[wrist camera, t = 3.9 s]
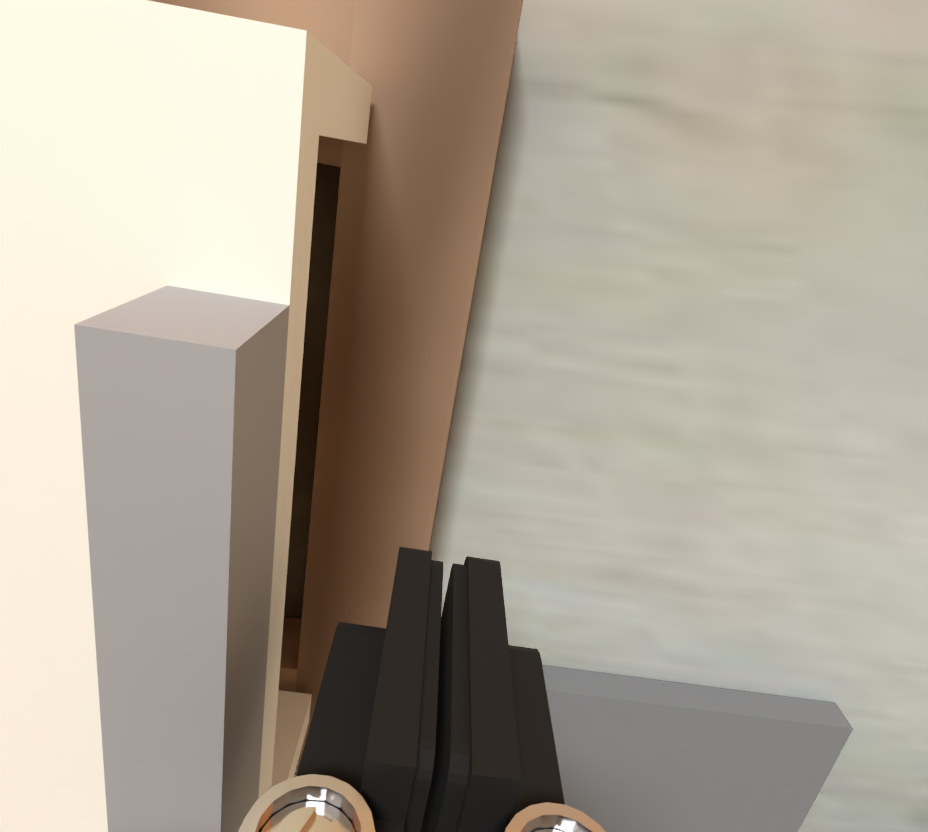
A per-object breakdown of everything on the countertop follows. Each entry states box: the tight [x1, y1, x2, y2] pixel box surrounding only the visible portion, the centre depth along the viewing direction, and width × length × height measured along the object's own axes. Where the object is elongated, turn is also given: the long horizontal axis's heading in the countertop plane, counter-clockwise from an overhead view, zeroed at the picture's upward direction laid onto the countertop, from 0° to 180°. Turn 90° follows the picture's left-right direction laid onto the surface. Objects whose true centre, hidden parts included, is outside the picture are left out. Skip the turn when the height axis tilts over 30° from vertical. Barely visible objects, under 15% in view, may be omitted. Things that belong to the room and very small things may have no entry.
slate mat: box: [542, 665, 853, 832], centre depth 21 cm, size 10×10×1 cm
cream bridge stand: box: [0, 0, 372, 832], centre depth 11 cm, size 9×16×7 cm, turn 171°
